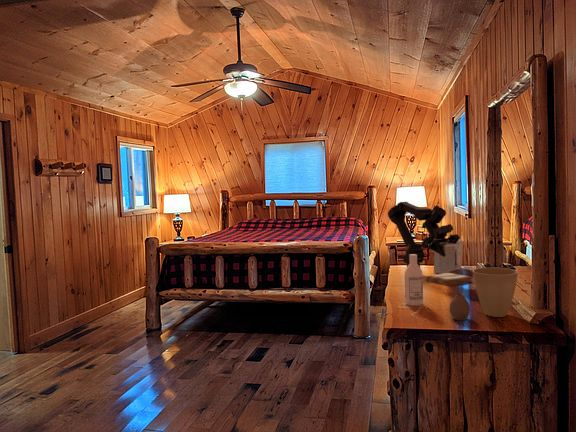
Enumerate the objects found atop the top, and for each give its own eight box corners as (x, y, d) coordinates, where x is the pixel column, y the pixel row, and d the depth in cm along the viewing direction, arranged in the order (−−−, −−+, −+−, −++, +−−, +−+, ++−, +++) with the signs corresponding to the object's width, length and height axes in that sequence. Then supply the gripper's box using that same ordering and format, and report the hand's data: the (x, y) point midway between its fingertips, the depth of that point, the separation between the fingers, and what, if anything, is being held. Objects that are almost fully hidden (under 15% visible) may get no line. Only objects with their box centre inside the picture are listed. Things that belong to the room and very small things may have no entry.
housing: (439, 268, 224) (439, 243, 223) (447, 267, 225) (447, 242, 224) (446, 270, 219) (446, 244, 218) (455, 269, 221) (454, 243, 220)
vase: (446, 316, 172) (446, 292, 171) (464, 315, 172) (464, 291, 172) (454, 322, 165) (454, 297, 164) (473, 321, 165) (473, 296, 165)
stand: (427, 281, 230) (427, 275, 230) (447, 277, 237) (447, 271, 237) (450, 286, 218) (450, 280, 218) (470, 281, 225) (470, 276, 225)
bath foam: (427, 304, 188) (426, 254, 187) (413, 307, 185) (412, 256, 184) (415, 301, 195) (414, 252, 193) (401, 303, 192) (400, 254, 190)
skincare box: (442, 274, 245) (442, 243, 244) (433, 273, 249) (432, 243, 248) (462, 268, 259) (462, 239, 258) (453, 267, 263) (453, 238, 262)
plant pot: (519, 311, 175) (519, 268, 173) (516, 322, 162) (515, 276, 161) (476, 307, 182) (476, 266, 181) (469, 317, 169) (469, 273, 168)
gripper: (424, 220, 220) (440, 246, 211) (457, 217, 227) (473, 243, 218) (414, 235, 229) (429, 261, 219) (446, 232, 235) (461, 257, 226)
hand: (448, 255), depth 220 cm, fingers closed on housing, 5 cm apart
